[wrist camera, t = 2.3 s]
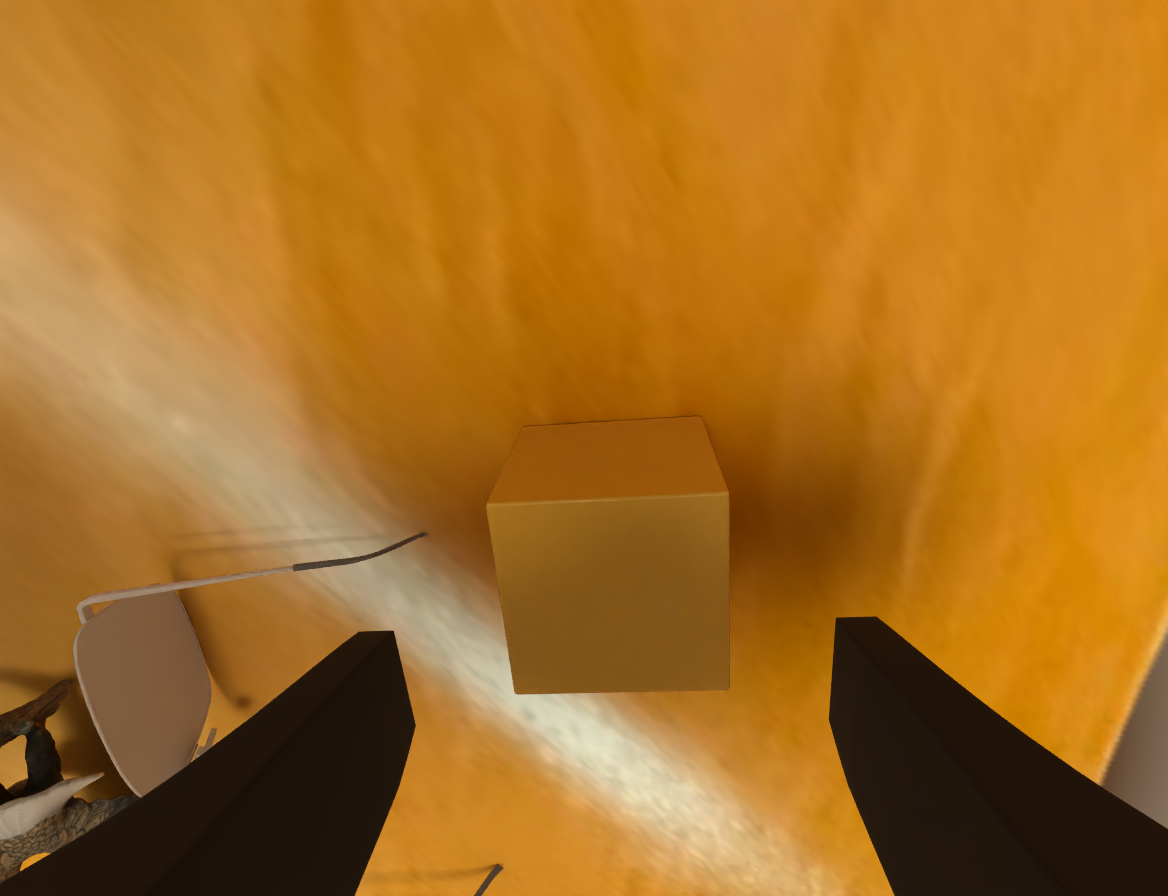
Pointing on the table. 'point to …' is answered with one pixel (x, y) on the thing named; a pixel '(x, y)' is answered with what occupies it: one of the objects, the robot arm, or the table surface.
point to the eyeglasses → (156, 677)
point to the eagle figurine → (44, 790)
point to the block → (614, 558)
